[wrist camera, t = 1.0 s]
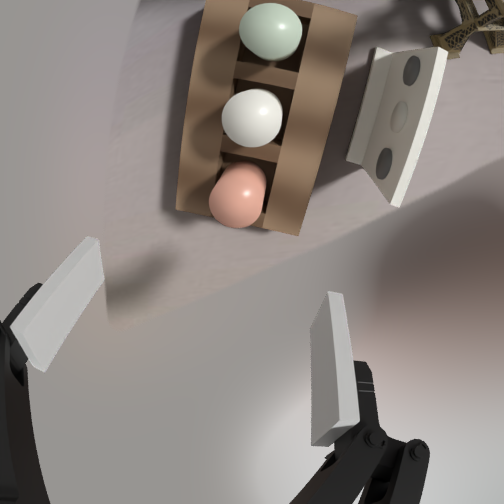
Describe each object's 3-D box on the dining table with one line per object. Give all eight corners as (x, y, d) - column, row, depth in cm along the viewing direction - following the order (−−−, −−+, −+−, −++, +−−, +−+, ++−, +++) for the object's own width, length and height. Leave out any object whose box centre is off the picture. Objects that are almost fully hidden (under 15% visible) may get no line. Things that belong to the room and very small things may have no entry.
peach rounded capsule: (225, 156, 25) (212, 174, 21) (270, 165, 25) (267, 185, 21) (219, 197, 27) (206, 222, 23) (261, 206, 27) (256, 233, 23)
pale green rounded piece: (253, 13, 18) (245, -1, 14) (303, 23, 18) (307, 9, 14) (244, 56, 20) (233, 51, 16) (293, 66, 20) (295, 62, 16)
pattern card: (375, 47, 21) (417, 36, 12) (412, 62, 21) (466, 62, 12) (345, 159, 27) (370, 198, 19) (381, 170, 27) (417, 213, 19)
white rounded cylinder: (238, 84, 21) (227, 86, 17) (287, 93, 21) (287, 97, 17) (230, 129, 24) (217, 141, 19) (276, 138, 24) (274, 152, 20)
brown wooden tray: (219, -1, 20) (208, -12, 16) (348, 23, 20) (357, 15, 16) (187, 193, 31) (175, 209, 28) (297, 217, 31) (298, 236, 28)
